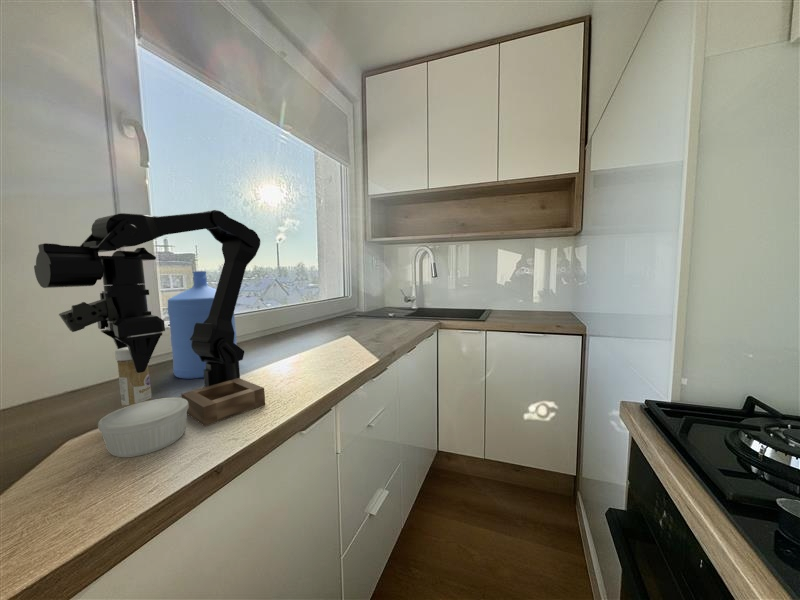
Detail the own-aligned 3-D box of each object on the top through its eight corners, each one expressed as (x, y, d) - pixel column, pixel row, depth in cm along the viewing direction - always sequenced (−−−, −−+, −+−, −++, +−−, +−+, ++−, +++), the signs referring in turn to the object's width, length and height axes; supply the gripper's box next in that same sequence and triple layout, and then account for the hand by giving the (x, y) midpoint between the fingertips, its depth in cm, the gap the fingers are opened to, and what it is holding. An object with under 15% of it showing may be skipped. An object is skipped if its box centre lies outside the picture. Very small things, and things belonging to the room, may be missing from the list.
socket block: (239, 393, 70) (238, 377, 69) (265, 404, 63) (264, 387, 63) (182, 410, 61) (181, 393, 61) (205, 426, 54) (203, 407, 54)
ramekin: (127, 431, 54) (124, 401, 53) (200, 421, 57) (198, 393, 56) (81, 469, 43) (77, 433, 43) (175, 454, 46) (171, 420, 46)
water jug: (250, 366, 91) (243, 270, 89) (191, 383, 77) (181, 270, 75) (220, 360, 99) (213, 272, 97) (162, 374, 86) (153, 272, 83)
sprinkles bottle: (152, 418, 58) (145, 347, 57) (120, 425, 56) (112, 351, 55) (155, 409, 62) (148, 343, 61) (124, 416, 60) (117, 347, 59)
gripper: (54, 287, 56) (65, 371, 58) (67, 287, 45) (80, 392, 46) (133, 284, 65) (141, 357, 66) (161, 283, 54) (170, 372, 55)
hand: (134, 368), depth 58 cm, fingers open, 9 cm apart
